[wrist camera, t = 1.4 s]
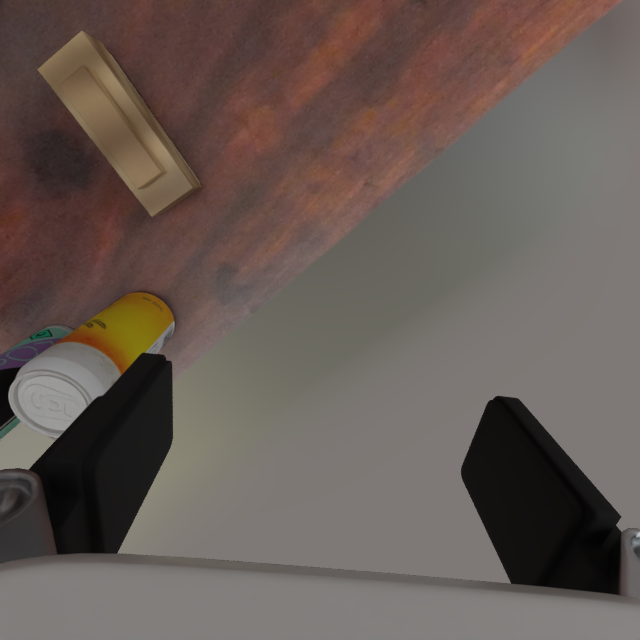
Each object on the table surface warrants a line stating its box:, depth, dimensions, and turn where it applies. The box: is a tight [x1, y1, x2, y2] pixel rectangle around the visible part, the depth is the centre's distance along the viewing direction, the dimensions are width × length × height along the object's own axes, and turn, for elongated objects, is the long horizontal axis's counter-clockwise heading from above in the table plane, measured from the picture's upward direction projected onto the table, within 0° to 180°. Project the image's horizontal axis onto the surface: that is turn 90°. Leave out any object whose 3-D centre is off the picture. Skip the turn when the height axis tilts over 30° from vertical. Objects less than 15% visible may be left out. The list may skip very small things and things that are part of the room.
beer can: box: [8, 292, 175, 438], centre depth 31 cm, size 6×6×15 cm
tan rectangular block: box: [38, 31, 201, 217], centre depth 29 cm, size 12×4×5 cm, turn 31°
